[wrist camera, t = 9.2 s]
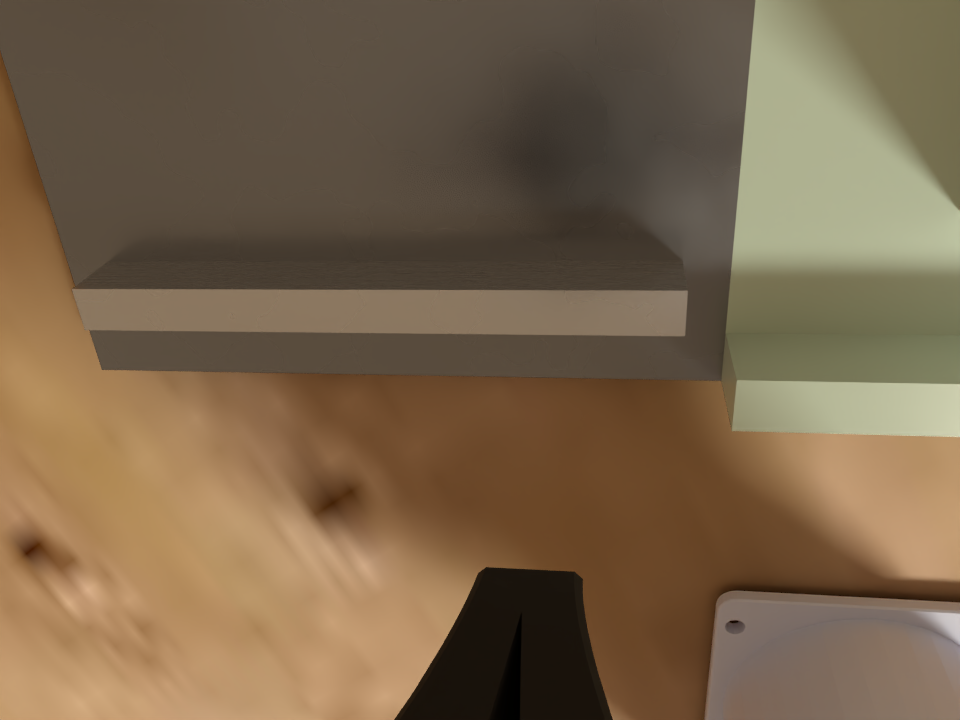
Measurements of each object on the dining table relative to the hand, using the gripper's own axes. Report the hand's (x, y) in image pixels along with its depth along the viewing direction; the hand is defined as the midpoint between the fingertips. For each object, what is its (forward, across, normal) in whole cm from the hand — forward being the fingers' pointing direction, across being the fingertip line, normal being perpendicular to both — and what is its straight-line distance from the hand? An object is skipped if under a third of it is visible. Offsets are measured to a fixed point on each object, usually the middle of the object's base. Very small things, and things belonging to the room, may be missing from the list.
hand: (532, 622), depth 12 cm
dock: (+9, +4, -5) cm, 11 cm away
